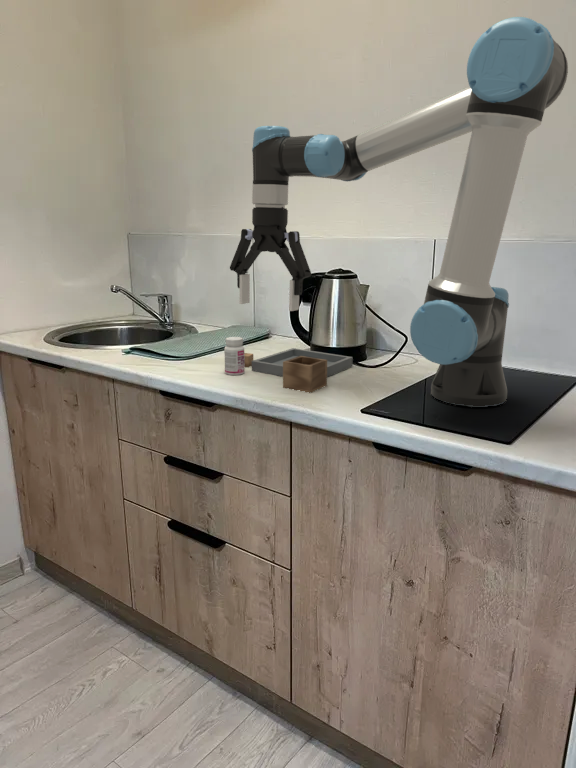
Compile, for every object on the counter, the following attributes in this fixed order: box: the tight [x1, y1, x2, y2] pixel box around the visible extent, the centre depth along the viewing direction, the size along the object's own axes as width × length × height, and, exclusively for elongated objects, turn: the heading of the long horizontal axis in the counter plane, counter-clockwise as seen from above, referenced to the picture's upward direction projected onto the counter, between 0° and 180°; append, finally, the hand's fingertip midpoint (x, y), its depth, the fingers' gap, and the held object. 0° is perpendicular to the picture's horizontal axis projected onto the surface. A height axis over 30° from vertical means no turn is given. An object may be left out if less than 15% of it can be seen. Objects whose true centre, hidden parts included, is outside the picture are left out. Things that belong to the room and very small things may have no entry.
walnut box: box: [282, 356, 328, 394], centre depth 126 cm, size 7×7×6 cm
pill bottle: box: [223, 336, 246, 376], centre depth 136 cm, size 5×5×8 cm
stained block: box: [244, 352, 254, 368], centre depth 145 cm, size 6×3×3 cm, turn 69°
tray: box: [251, 347, 354, 378], centre depth 141 cm, size 18×18×2 cm
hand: (268, 306), depth 127 cm, fingers open, 13 cm apart
